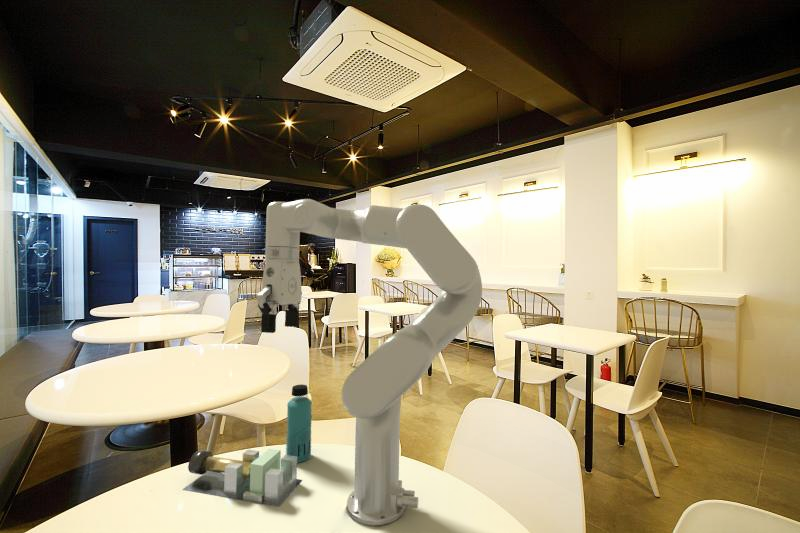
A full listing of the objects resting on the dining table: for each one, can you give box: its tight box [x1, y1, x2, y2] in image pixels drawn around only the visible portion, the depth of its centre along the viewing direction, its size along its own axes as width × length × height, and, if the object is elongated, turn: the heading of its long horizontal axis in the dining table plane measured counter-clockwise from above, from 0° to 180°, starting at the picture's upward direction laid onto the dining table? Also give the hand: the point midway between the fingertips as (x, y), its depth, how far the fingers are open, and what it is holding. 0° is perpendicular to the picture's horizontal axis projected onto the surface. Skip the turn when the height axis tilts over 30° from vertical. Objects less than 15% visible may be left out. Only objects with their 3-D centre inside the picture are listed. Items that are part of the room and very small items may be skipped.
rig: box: [182, 449, 303, 508], centre depth 81 cm, size 24×10×7 cm, turn 77°
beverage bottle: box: [285, 384, 313, 464], centre depth 94 cm, size 6×7×20 cm
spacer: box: [250, 448, 282, 496], centre depth 80 cm, size 3×7×7 cm, turn 167°
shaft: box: [187, 449, 252, 478], centre depth 83 cm, size 15×5×5 cm, turn 77°
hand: (280, 329), depth 82 cm, fingers open, 9 cm apart
